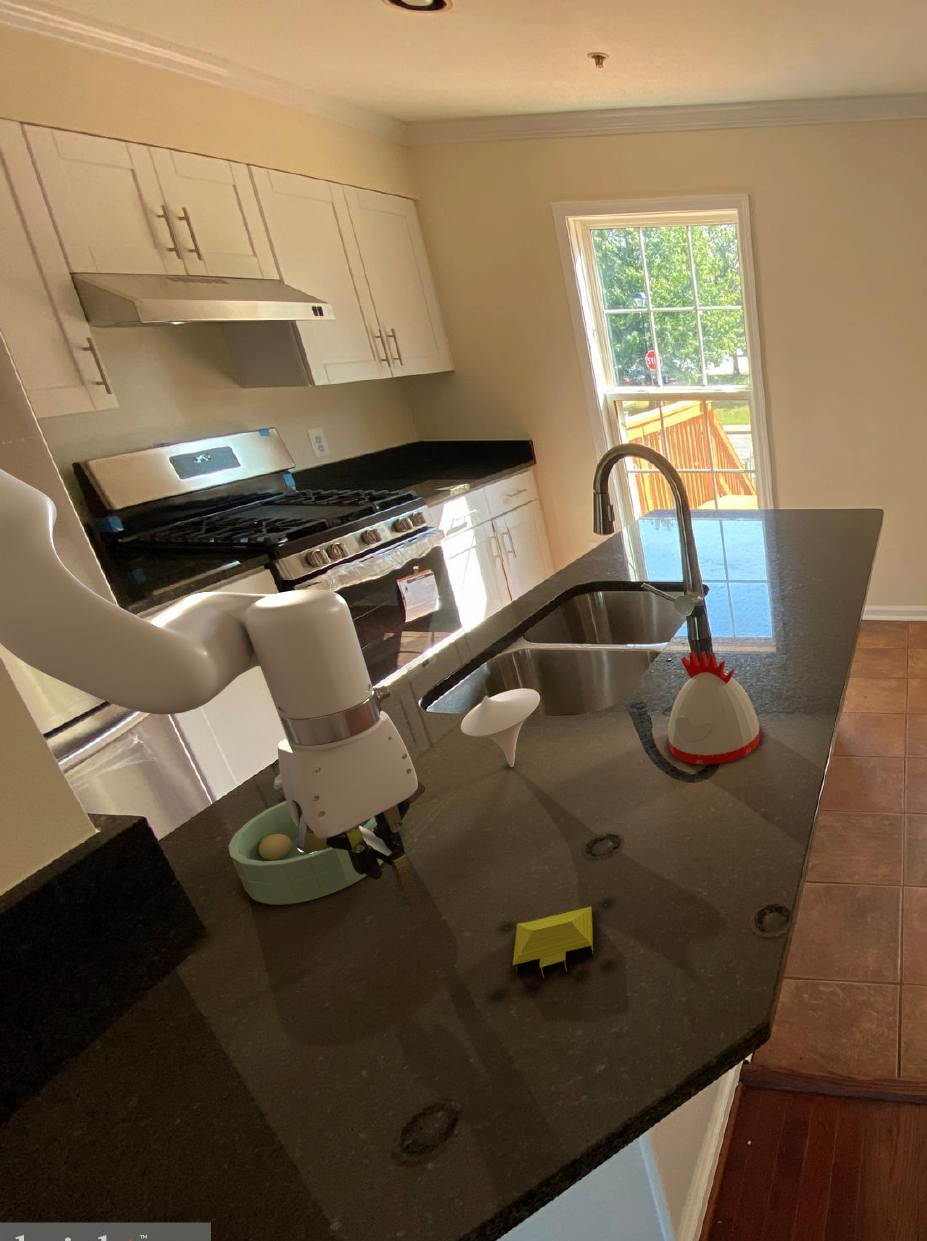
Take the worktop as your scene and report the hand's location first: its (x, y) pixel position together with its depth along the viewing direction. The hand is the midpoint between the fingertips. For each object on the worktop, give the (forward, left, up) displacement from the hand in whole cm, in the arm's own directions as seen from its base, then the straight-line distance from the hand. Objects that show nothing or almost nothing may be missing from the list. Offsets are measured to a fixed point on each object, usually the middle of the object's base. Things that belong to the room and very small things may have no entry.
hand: (382, 866), depth 74 cm
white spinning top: (-12, +24, -5) cm, 27 cm away
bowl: (-14, 0, -5) cm, 15 cm away
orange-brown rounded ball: (-18, -2, -3) cm, 19 cm away
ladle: (-4, 0, -3) cm, 5 cm away
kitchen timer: (+9, +44, -5) cm, 45 cm away
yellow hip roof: (+21, +4, -5) cm, 22 cm away
